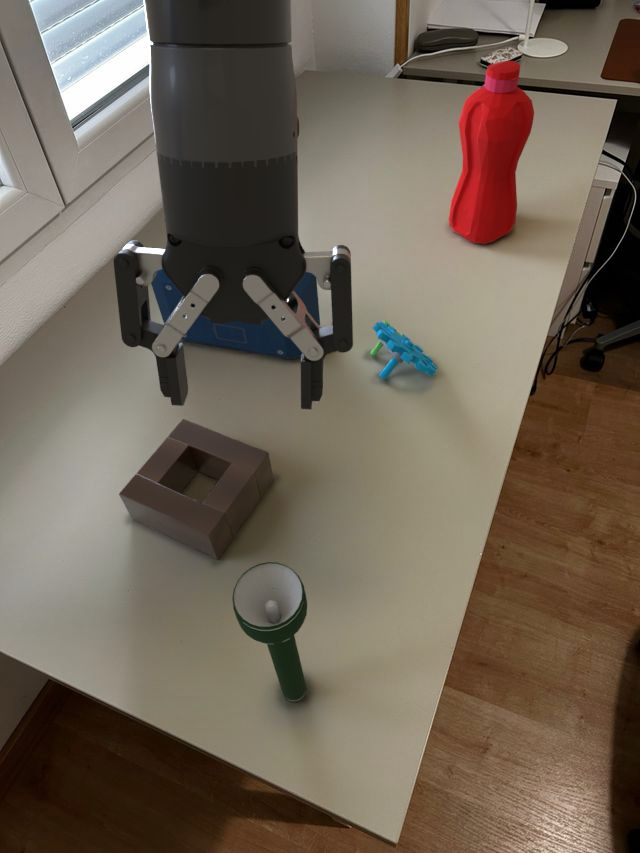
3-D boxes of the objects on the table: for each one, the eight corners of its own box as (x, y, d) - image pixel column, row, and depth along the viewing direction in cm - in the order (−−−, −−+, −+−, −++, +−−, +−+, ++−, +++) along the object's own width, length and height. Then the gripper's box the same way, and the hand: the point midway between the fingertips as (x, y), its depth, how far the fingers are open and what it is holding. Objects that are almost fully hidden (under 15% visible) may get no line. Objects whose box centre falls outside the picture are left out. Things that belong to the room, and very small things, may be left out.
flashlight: (312, 656, 61) (292, 551, 46) (330, 709, 58) (314, 614, 43) (261, 674, 61) (223, 573, 45) (276, 729, 57) (241, 640, 42)
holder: (217, 560, 69) (208, 536, 65) (131, 519, 73) (118, 493, 69) (274, 478, 75) (269, 452, 71) (192, 445, 79) (183, 418, 76)
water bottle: (474, 202, 110) (495, 41, 91) (521, 230, 104) (554, 64, 85) (432, 222, 107) (445, 60, 88) (479, 252, 101) (503, 84, 82)
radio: (323, 325, 92) (313, 196, 77) (304, 367, 87) (289, 238, 72) (191, 303, 97) (158, 179, 82) (165, 342, 92) (124, 216, 77)
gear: (453, 377, 81) (400, 347, 76) (423, 412, 84) (369, 385, 78) (415, 333, 89) (365, 303, 84) (389, 366, 92) (337, 338, 86)
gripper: (70, 153, 32) (122, 429, 40) (362, 157, 31) (350, 435, 40) (115, 128, 38) (152, 372, 47) (359, 132, 37) (349, 377, 46)
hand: (244, 401), depth 43 cm, fingers open, 8 cm apart
